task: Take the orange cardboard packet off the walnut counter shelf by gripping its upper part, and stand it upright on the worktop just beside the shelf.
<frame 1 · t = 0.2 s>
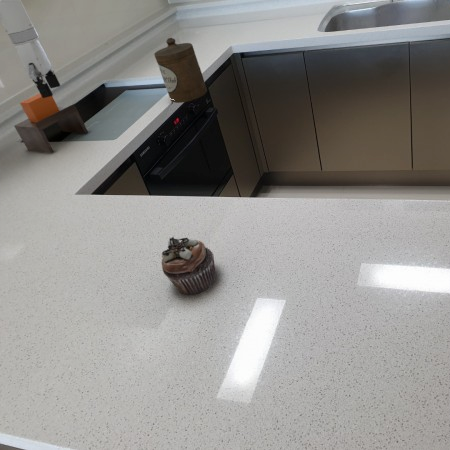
hand: (51, 91, 147), 20 cm above the table, tool pointing down, fingers open, 9 cm apart
shelf: (58, 141, 167), on the table
cupcake: (196, 281, 89), on the table
wooden container: (189, 96, 182), on the table
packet: (45, 116, 161), point 10 cm above the table, touching shelf
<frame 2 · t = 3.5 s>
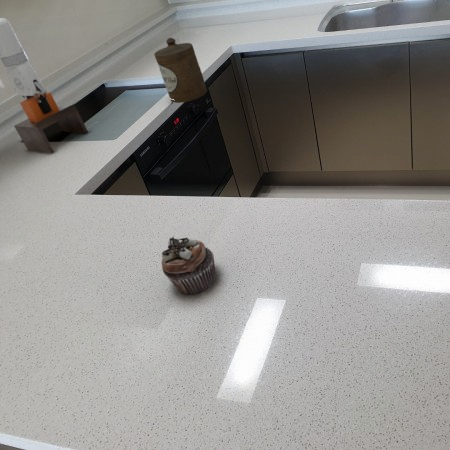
hand: (42, 111, 160), 11 cm above the table, tool pointing down, fingers closed on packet, 5 cm apart
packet: (45, 116, 161), point 10 cm above the table, touching gripper, shelf
everything else where it was.
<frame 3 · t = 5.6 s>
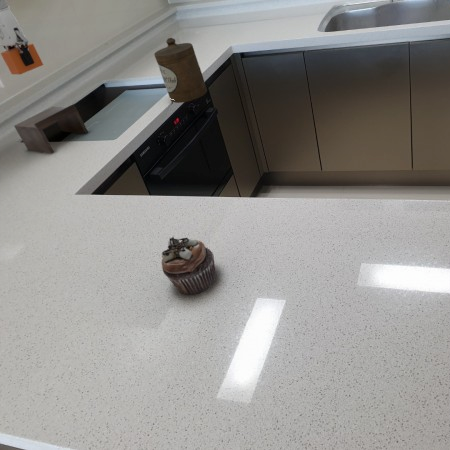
hand: (25, 64, 154), 27 cm above the table, tool pointing down, fingers closed on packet, 5 cm apart
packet: (27, 69, 155), point 25 cm above the table, touching gripper
everything else where it was.
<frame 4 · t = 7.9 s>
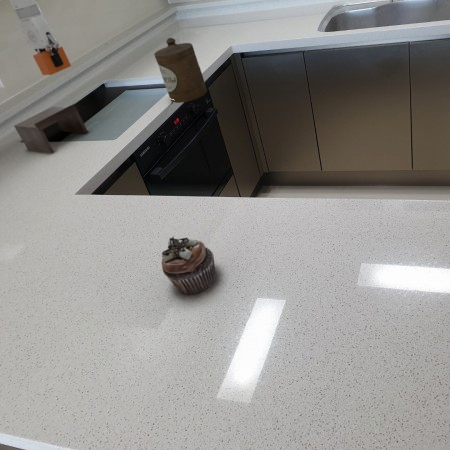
hand: (54, 65, 166), 22 cm above the table, tool pointing down, fingers closed on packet, 5 cm apart
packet: (57, 70, 167), point 20 cm above the table, touching gripper
everything else where it was.
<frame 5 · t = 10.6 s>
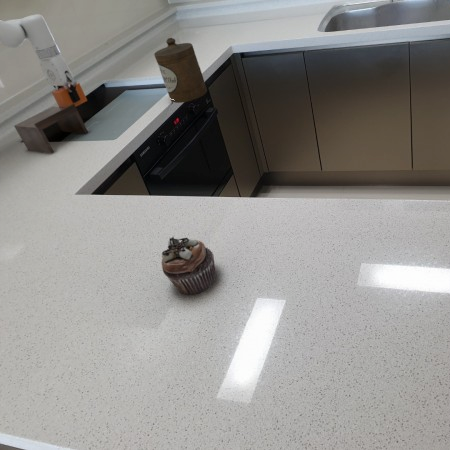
hand: (71, 100, 174), 9 cm above the table, tool pointing down, fingers closed on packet, 5 cm apart
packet: (74, 105, 175), point 7 cm above the table, touching gripper
everything else where it was.
when the fingers open (2 cm above the table, at t = 12.6 s): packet stays where it is, on the table.
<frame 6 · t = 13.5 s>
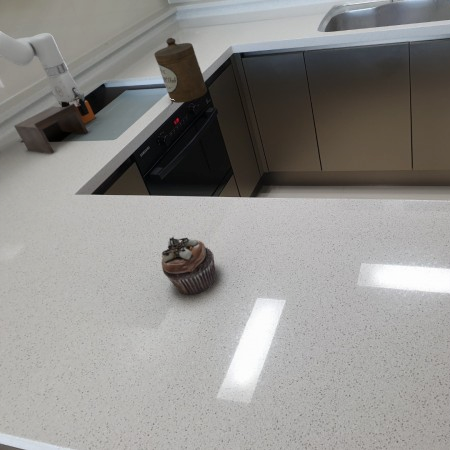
hand: (77, 114, 177), 4 cm above the table, tool pointing down, fingers open, 9 cm apart
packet: (82, 122, 179), on the table
everything else where it was.
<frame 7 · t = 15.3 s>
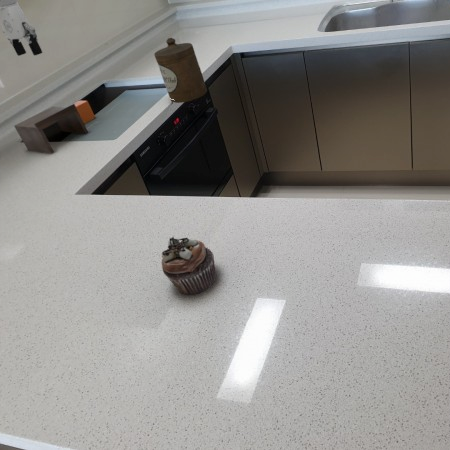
hand: (30, 54, 162), 28 cm above the table, tool pointing down, fingers open, 9 cm apart
nothing on the table moved.
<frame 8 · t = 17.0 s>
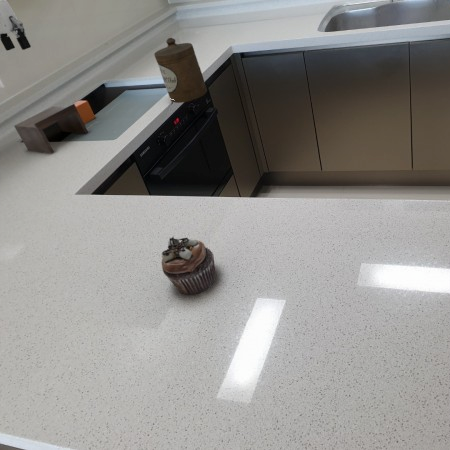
hand: (18, 48, 161), 30 cm above the table, tool pointing down, fingers open, 9 cm apart
nothing on the table moved.
at the end: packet inside the target area (0.1 cm from its centre), on the table; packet tilted 0°; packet touching table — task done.
